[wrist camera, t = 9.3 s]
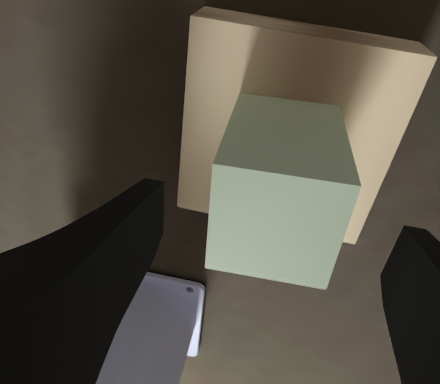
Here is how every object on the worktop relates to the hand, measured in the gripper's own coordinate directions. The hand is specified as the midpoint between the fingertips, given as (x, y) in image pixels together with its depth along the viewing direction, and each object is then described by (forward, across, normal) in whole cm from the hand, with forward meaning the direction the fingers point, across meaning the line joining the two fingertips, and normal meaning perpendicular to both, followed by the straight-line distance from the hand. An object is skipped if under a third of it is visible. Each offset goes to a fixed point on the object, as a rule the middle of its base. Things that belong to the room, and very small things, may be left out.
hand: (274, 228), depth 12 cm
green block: (+6, 0, 0) cm, 6 cm away
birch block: (+9, 0, 0) cm, 9 cm away
